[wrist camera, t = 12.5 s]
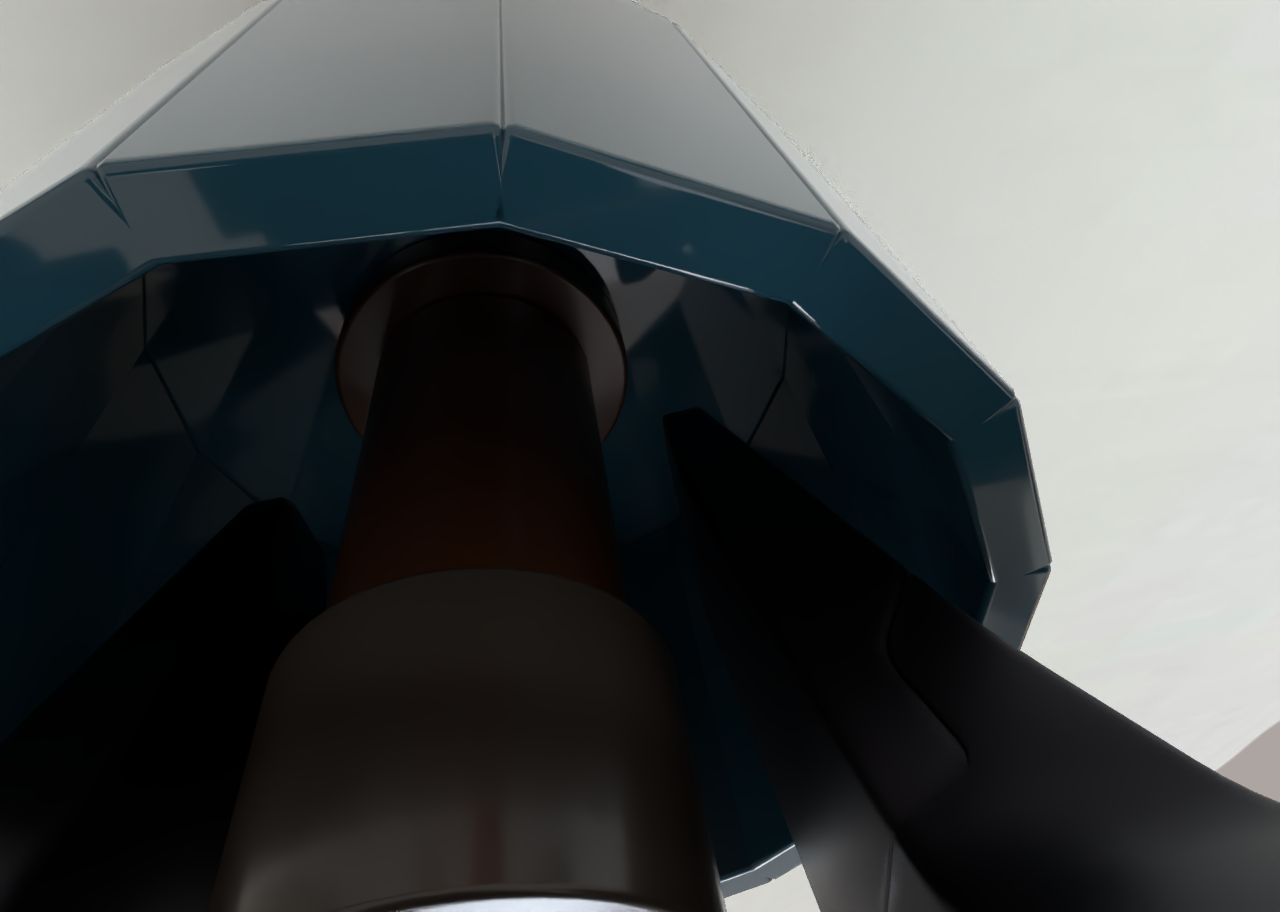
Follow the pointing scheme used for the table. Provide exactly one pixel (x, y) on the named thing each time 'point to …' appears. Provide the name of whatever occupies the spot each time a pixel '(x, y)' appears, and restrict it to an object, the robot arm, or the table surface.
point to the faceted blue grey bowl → (449, 204)
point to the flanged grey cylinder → (475, 628)
